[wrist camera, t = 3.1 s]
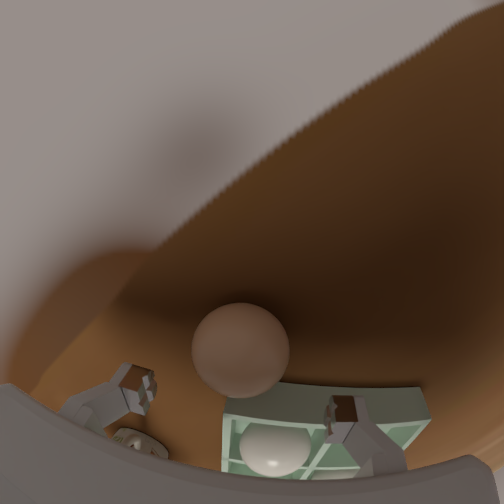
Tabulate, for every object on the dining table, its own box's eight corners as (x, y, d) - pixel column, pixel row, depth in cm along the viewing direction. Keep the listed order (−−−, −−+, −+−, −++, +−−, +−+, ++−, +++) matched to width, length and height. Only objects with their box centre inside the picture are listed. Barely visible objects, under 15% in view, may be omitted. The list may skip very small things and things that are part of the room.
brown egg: (206, 279, 14) (173, 333, 10) (297, 292, 14) (298, 354, 9) (206, 347, 16) (181, 405, 11) (283, 359, 15) (278, 423, 11)
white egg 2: (318, 447, 18) (318, 494, 13) (370, 446, 17) (375, 490, 13) (305, 467, 19) (303, 508, 15) (351, 467, 19) (353, 506, 15)
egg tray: (233, 375, 16) (223, 412, 13) (419, 386, 15) (431, 419, 12) (226, 478, 23) (221, 499, 21) (337, 486, 22) (337, 507, 19)
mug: (114, 442, 24) (83, 501, 15) (97, 385, 20) (43, 465, 10) (177, 468, 24) (154, 533, 15) (183, 422, 19) (145, 521, 10)
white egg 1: (247, 395, 16) (235, 455, 12) (318, 403, 16) (320, 463, 11) (242, 430, 18) (232, 480, 13) (303, 437, 17) (301, 487, 13)
